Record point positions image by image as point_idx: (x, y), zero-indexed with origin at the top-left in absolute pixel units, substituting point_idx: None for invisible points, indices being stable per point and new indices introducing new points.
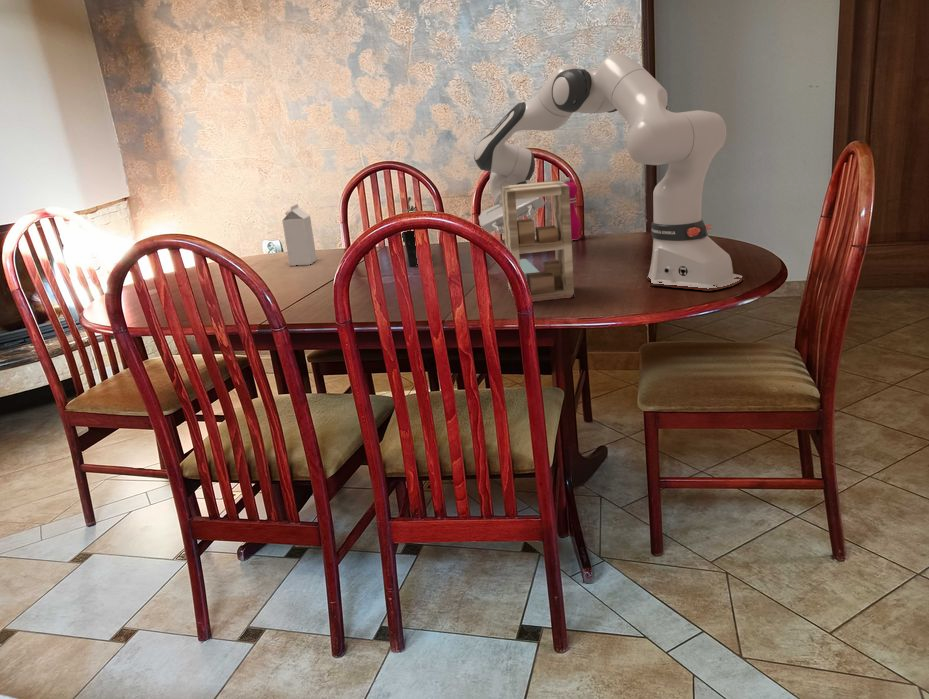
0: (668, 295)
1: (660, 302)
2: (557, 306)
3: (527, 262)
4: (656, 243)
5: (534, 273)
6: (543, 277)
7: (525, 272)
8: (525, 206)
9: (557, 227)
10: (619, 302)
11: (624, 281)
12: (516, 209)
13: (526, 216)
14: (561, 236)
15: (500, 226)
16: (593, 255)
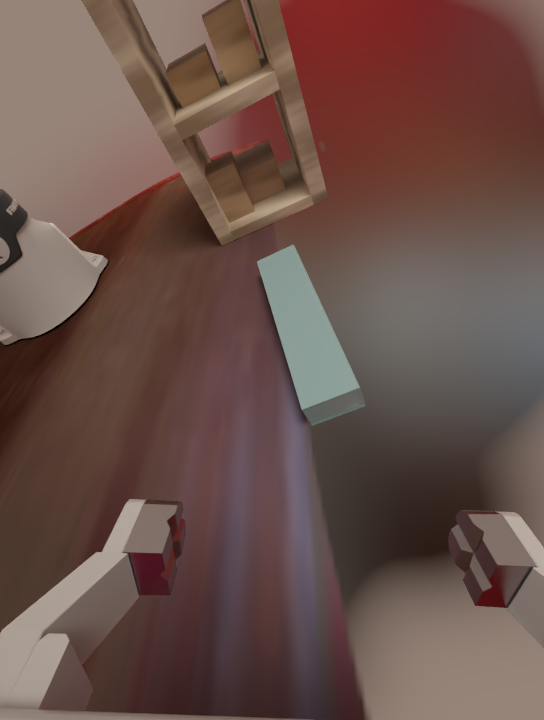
0: (111, 236)
1: (131, 214)
2: None
3: (291, 351)
4: (35, 223)
5: (259, 160)
6: (245, 151)
7: (292, 253)
8: (63, 712)
9: (162, 83)
10: (170, 204)
11: (125, 283)
12: (232, 718)
13: (177, 503)
14: (172, 88)
15: (494, 551)
16: (60, 559)
